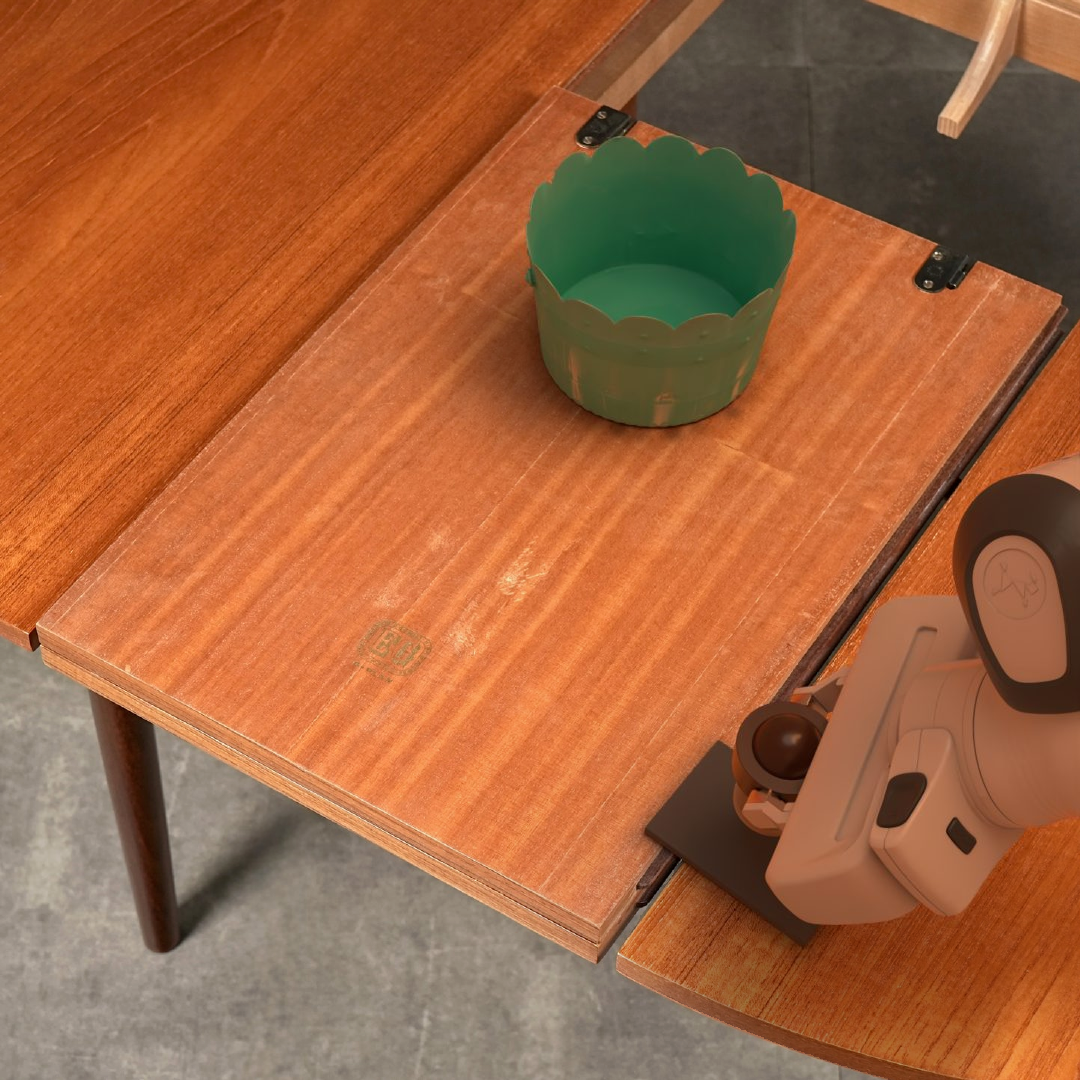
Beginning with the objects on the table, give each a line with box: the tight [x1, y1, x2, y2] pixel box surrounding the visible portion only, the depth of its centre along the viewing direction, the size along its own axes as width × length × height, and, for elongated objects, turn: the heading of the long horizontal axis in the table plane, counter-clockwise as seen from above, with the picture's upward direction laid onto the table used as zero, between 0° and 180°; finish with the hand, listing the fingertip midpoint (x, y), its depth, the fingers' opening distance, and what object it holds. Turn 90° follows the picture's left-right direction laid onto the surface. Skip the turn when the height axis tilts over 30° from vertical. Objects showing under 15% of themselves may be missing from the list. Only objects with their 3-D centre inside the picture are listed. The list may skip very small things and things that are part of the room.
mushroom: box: [732, 700, 829, 837], centre depth 99 cm, size 6×6×8 cm
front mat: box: [644, 739, 822, 948], centre depth 106 cm, size 12×8×1 cm, turn 52°
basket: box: [524, 134, 798, 428], centre depth 124 cm, size 19×18×13 cm
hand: (774, 757), depth 99 cm, fingers closed on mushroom, 6 cm apart
